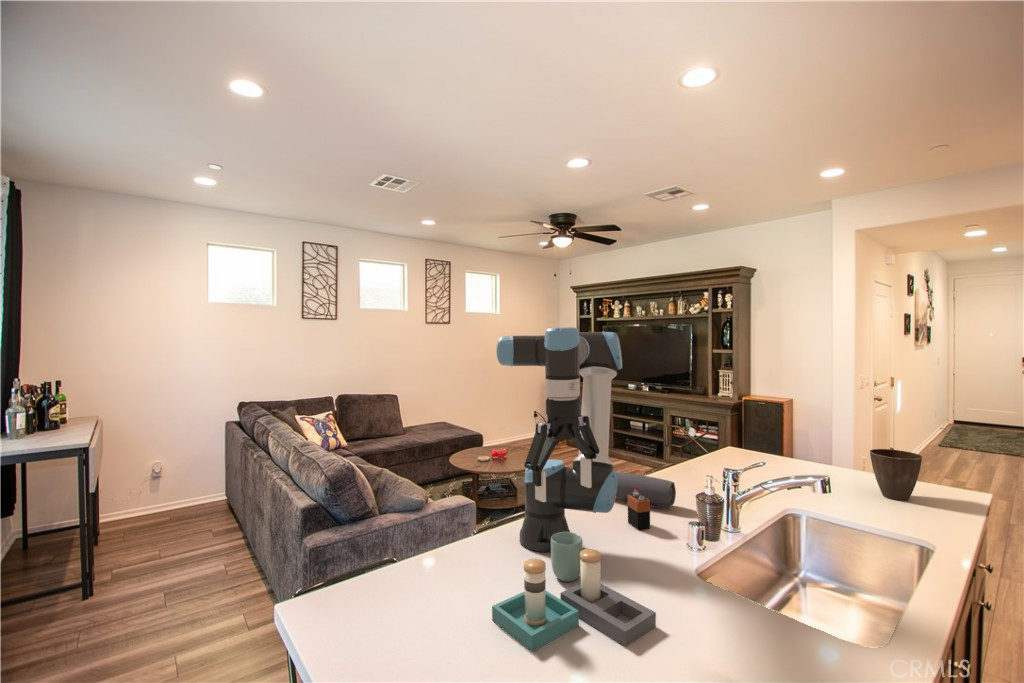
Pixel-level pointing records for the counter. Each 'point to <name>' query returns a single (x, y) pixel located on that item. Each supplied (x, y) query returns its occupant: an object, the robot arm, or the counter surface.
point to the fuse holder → (612, 614)
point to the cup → (566, 555)
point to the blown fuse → (535, 592)
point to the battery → (638, 511)
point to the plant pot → (896, 472)
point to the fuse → (590, 575)
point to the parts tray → (513, 622)
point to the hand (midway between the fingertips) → (564, 493)
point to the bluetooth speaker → (646, 488)
